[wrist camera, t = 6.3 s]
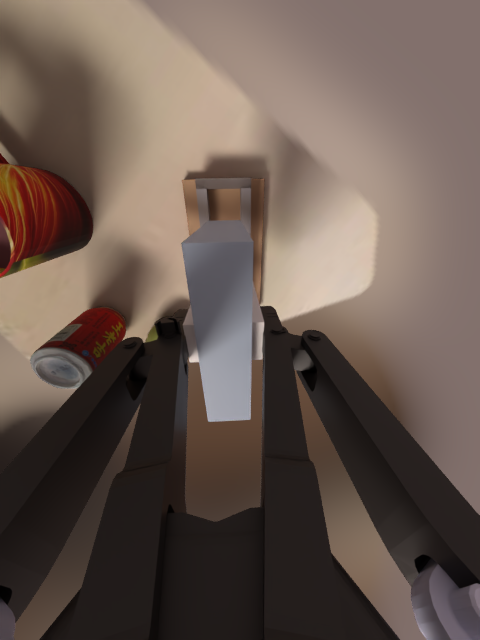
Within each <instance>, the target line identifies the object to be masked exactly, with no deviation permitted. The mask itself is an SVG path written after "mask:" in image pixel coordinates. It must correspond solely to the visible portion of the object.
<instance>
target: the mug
mask: <svg viewBox="0 0 480 640" xmlns="http://www.w3.org/2000/svg"><path fill="white" fill-rule="evenodd" d="M92 233H93V223H92V217H91V214H90V211H89V209H88V207H87V205H86V203H85V201H84V200H83V198H82V197H81V195H80V194H79V193H78V192H77V191H76V190H75V189H74V187H73V186H71V185H70V184H69V183H68V182H67V181H65V180H64V179H63V178H61V177H59V176H58V175H56V174H54V173H51V172H49V171H46V170H42V169H37V168H31V167H24V166H17V165H10V164H9V163H8V162H7V161H6V159H5V158H4V157H3V156H2V155H1V154H0V278H2V277H4V276H7V275H10V274H13V273H16V272H18V271H21V270H24V269H27V268H30V267H32V266H35V265H38V264H41V263H44V262H46V261H49V260H52V259H55V258H58V257H60V256H63V255H66V254H69V253H71V252H74V251H77V250H79V249H81V248H83V247H84V246H86V245H87V244H88V242H89V241H90V239H91V236H92Z"/></svg>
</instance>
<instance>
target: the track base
mask: <svg viewBox="0 0 480 640" xmlns="http://www.w3.org/2000/svg"><path fill="white" fill-rule="evenodd" d="M264 180H265V179H251V178H195V180H182V183H183V190H184V198H185V205H186V213H187V220H188V228H189V235H190V236H191V235H192V234H193V233H194V232H195V231H197V230H198V229H199V228H200V227H201V226H203V225H204V224H205V223H206V222H207V221H222V220H241V222H242V223H243V225H244V227H245V228H246V230H247V232H248V233H249V235H250V237H251V238H252V240H253V283H254V287H255V291H256V294H257V298H258V301H259V305H260V282H261V256H262V231H263V205H264Z"/></svg>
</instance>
